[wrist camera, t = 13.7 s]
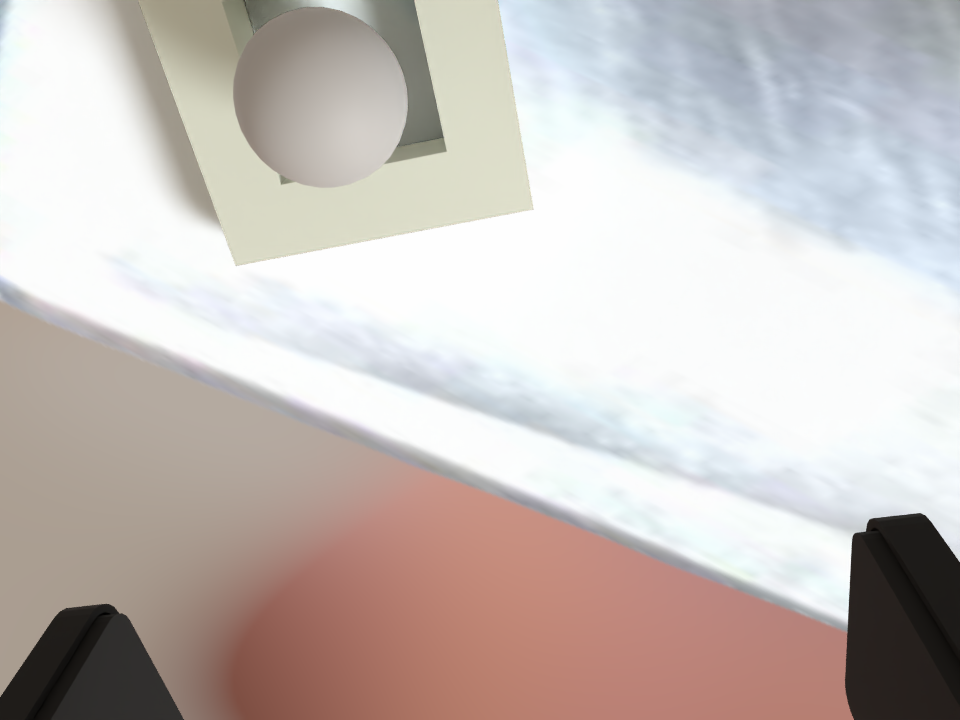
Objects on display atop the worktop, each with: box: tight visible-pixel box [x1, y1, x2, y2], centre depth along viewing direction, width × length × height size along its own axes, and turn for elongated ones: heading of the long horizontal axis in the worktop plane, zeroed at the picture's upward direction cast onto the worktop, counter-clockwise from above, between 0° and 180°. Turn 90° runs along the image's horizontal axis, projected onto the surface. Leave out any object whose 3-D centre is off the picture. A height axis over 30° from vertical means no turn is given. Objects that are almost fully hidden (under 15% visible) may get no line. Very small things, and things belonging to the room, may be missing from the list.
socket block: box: [138, 0, 533, 266], centre depth 34 cm, size 14×14×3 cm
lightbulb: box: [233, 7, 408, 188], centre depth 30 cm, size 6×6×11 cm
